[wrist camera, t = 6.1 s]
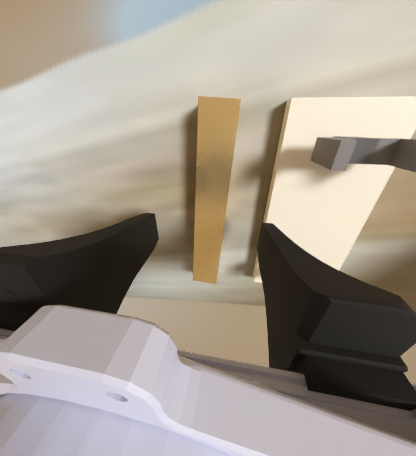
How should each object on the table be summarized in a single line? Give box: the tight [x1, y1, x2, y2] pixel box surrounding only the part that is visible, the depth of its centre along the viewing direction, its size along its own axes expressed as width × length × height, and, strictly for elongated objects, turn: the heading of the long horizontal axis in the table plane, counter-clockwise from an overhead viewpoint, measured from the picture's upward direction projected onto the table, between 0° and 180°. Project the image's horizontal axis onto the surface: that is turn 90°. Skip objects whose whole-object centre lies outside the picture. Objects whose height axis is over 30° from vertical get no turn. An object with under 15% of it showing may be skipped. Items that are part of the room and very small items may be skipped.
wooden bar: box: [193, 96, 241, 284], centre depth 15 cm, size 2×15×2 cm, turn 177°
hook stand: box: [253, 96, 416, 283], centre depth 12 cm, size 7×15×5 cm, turn 0°
